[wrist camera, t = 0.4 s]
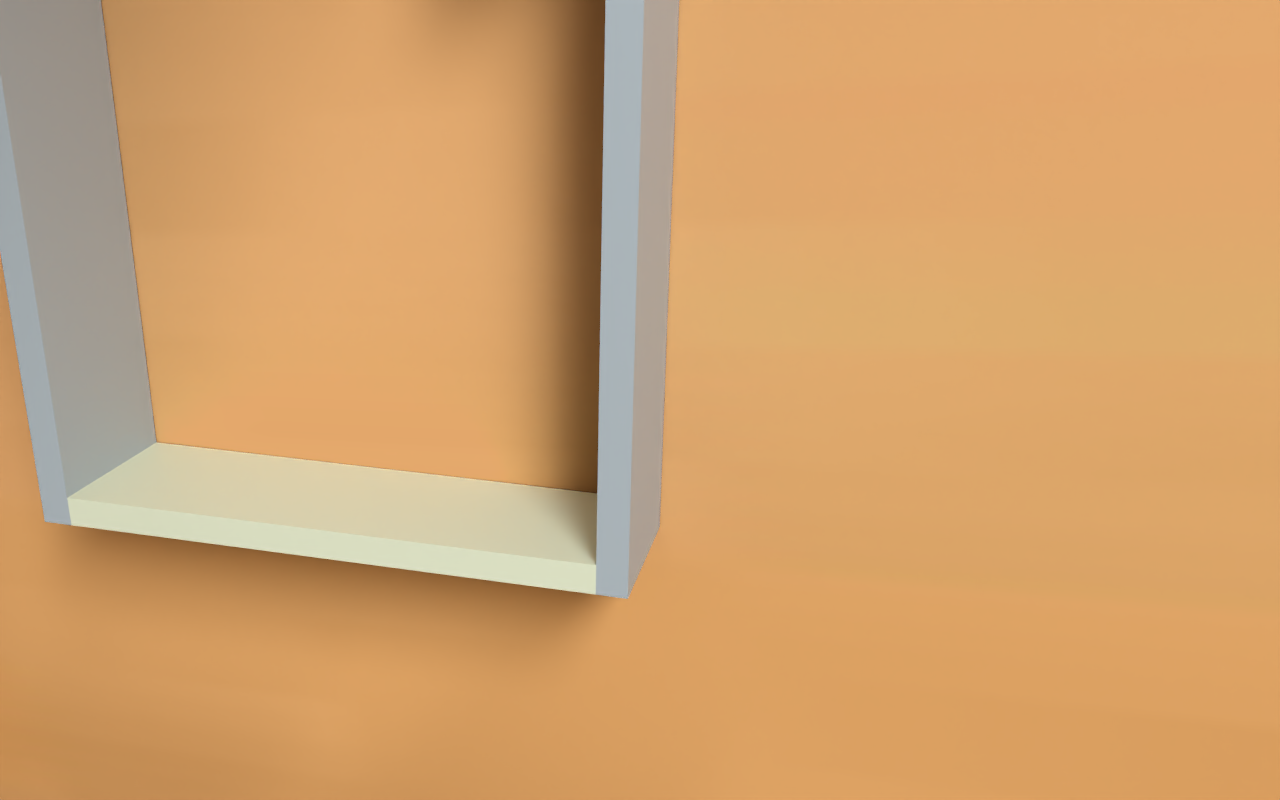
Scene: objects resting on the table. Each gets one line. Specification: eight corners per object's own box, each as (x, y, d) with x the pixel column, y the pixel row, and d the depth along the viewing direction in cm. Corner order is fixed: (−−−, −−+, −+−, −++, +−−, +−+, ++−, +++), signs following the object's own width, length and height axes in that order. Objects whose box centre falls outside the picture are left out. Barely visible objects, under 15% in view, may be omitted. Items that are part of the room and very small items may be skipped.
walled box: (48, -190, 36) (-78, -215, 31) (686, -188, 32) (650, -216, 28) (135, 464, 44) (44, 521, 39) (659, 527, 40) (627, 598, 35)
